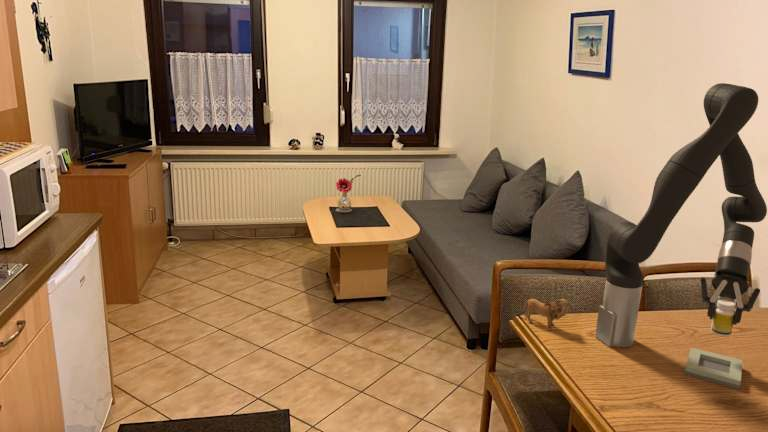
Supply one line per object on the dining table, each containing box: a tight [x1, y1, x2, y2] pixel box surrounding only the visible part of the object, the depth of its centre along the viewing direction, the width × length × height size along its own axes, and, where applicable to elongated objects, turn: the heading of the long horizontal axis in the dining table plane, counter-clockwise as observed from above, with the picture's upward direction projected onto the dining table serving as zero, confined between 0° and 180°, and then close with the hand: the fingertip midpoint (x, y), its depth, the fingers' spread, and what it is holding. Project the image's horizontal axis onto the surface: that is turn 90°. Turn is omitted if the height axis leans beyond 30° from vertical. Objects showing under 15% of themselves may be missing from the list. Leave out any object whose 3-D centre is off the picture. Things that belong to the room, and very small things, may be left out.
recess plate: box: [684, 347, 743, 390], centre depth 155 cm, size 12×12×2 cm
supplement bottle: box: [709, 298, 736, 337], centre depth 156 cm, size 5×5×8 cm
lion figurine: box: [516, 298, 569, 331], centre depth 178 cm, size 15×5×9 cm, turn 58°
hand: (723, 320), depth 154 cm, fingers closed on supplement bottle, 4 cm apart
